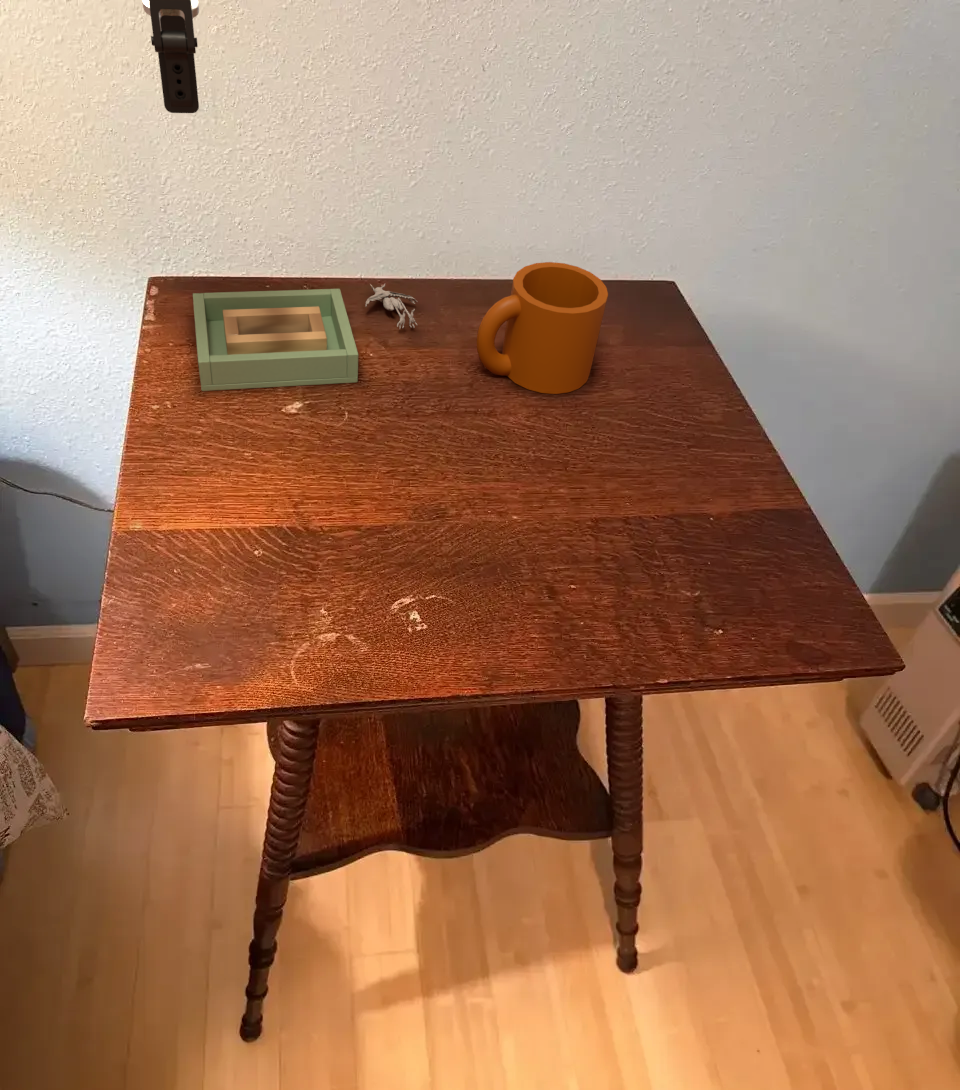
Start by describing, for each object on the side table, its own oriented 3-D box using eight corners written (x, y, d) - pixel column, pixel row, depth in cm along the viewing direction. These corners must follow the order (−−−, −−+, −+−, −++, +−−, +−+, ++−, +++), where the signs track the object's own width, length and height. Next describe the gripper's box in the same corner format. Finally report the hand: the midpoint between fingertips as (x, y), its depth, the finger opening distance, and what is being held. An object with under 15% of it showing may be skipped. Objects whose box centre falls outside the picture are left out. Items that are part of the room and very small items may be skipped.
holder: (201, 391, 84) (198, 362, 82) (195, 321, 92) (192, 293, 90) (357, 382, 88) (358, 354, 86) (339, 315, 96) (339, 288, 93)
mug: (461, 343, 94) (470, 260, 88) (576, 342, 97) (593, 261, 91) (478, 397, 88) (489, 312, 82) (600, 394, 91) (620, 311, 84)
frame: (228, 364, 87) (226, 342, 85) (224, 331, 90) (222, 309, 89) (327, 359, 89) (326, 338, 87) (319, 327, 93) (319, 306, 91)
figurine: (433, 327, 95) (401, 295, 100) (436, 307, 94) (403, 276, 99) (380, 331, 93) (349, 298, 98) (382, 311, 91) (351, 279, 96)
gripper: (83, -231, 59) (124, 49, 70) (74, -189, 49) (122, 127, 61) (209, -219, 61) (228, 52, 72) (223, -176, 51) (243, 129, 62)
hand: (180, 86), depth 66 cm, fingers open, 8 cm apart
